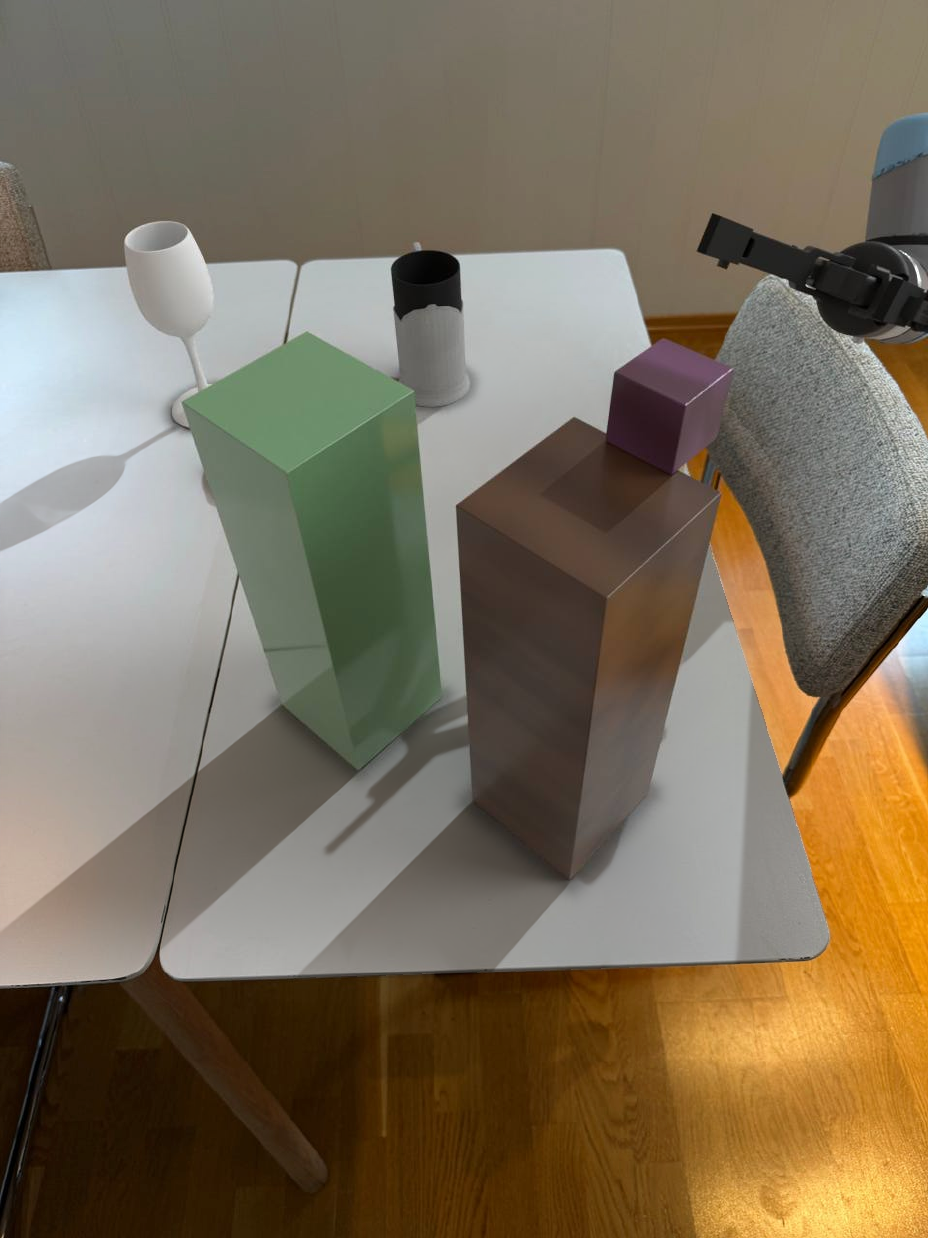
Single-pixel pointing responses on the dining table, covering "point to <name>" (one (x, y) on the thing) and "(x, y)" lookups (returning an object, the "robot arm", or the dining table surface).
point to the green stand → (327, 536)
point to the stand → (575, 633)
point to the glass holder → (430, 326)
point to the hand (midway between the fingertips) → (793, 264)
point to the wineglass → (171, 289)
